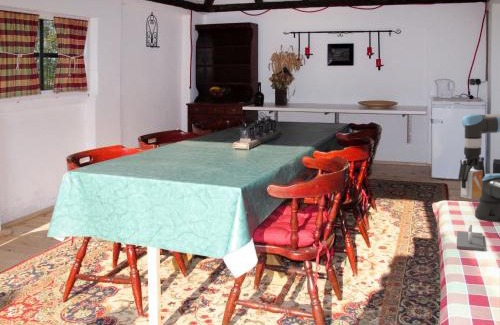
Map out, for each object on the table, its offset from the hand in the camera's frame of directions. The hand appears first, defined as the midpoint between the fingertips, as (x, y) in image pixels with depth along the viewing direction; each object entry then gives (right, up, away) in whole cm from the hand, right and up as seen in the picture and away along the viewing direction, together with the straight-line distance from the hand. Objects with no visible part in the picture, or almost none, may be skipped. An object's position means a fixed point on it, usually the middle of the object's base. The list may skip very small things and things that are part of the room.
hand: (471, 193), depth 266 cm
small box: (0, -2, 0) cm, 2 cm away
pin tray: (-7, -21, -15) cm, 27 cm away
